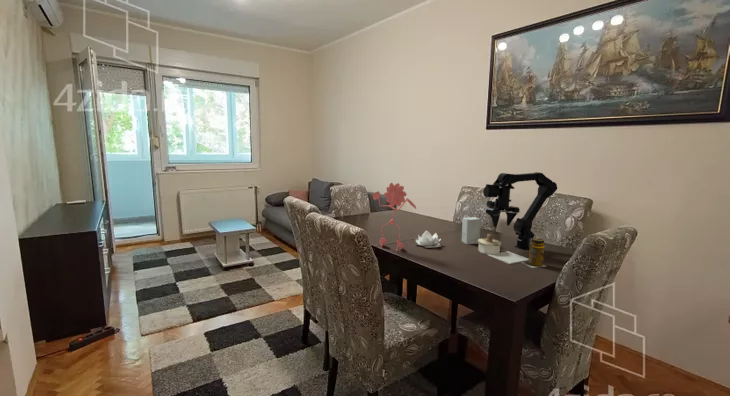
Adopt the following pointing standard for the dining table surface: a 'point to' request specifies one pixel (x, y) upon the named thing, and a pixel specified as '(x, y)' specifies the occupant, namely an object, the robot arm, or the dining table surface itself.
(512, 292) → the dining table surface
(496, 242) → the lid
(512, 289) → the dining table surface
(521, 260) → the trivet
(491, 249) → the bowl
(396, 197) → the figurine
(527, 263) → the condiment
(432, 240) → the lotus flower
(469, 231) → the skincare box
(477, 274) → the dining table surface
